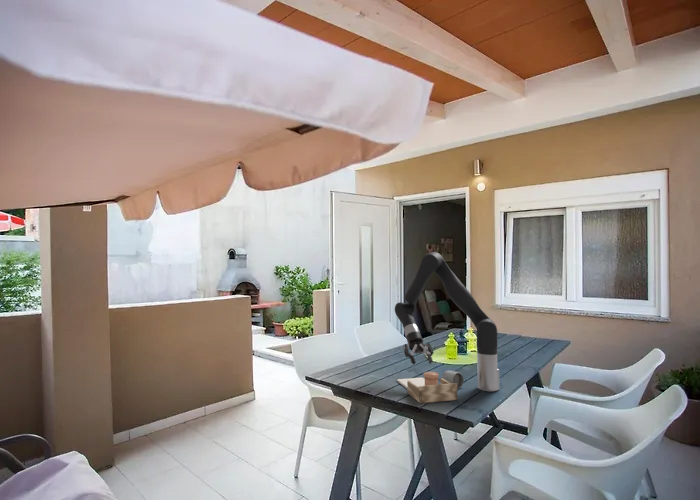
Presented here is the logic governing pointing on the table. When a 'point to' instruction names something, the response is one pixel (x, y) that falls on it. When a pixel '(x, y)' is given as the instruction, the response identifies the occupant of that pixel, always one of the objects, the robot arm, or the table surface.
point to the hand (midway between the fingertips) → (422, 363)
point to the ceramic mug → (454, 378)
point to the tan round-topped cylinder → (431, 378)
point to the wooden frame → (433, 392)
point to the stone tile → (415, 381)
